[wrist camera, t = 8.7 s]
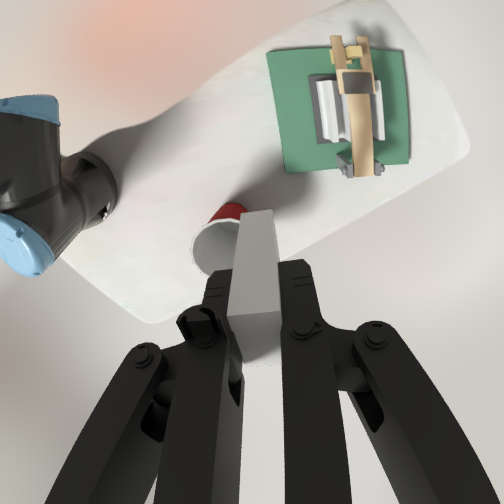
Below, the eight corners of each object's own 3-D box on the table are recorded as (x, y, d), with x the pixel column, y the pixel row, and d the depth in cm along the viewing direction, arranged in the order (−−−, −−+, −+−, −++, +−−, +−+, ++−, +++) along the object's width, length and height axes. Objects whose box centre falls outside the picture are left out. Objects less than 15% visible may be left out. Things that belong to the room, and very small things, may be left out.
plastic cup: (271, 235, 51) (273, 276, 41) (216, 248, 53) (206, 289, 43) (255, 181, 45) (253, 211, 35) (195, 197, 47) (178, 231, 37)
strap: (346, 176, 37) (348, 178, 36) (329, 36, 26) (331, 35, 25) (378, 173, 36) (380, 175, 35) (365, 37, 25) (368, 36, 24)
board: (285, 171, 44) (291, 191, 36) (265, 54, 33) (267, 44, 25) (404, 161, 41) (431, 179, 34) (397, 52, 31) (425, 48, 23)
